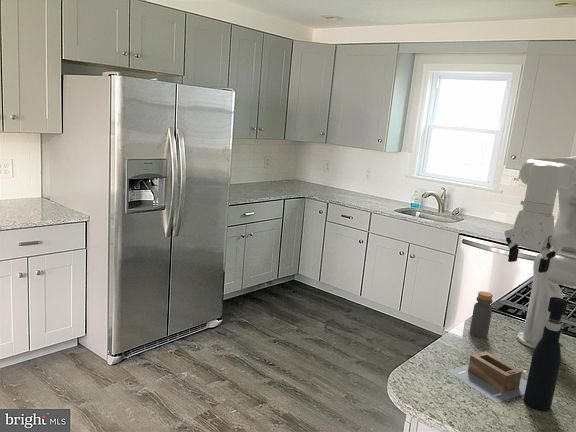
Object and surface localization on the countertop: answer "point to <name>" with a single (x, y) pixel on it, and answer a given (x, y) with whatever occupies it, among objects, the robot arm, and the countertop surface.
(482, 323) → the bottle
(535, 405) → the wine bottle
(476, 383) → the board
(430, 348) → the countertop surface
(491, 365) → the frame
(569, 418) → the countertop surface
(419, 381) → the countertop surface
